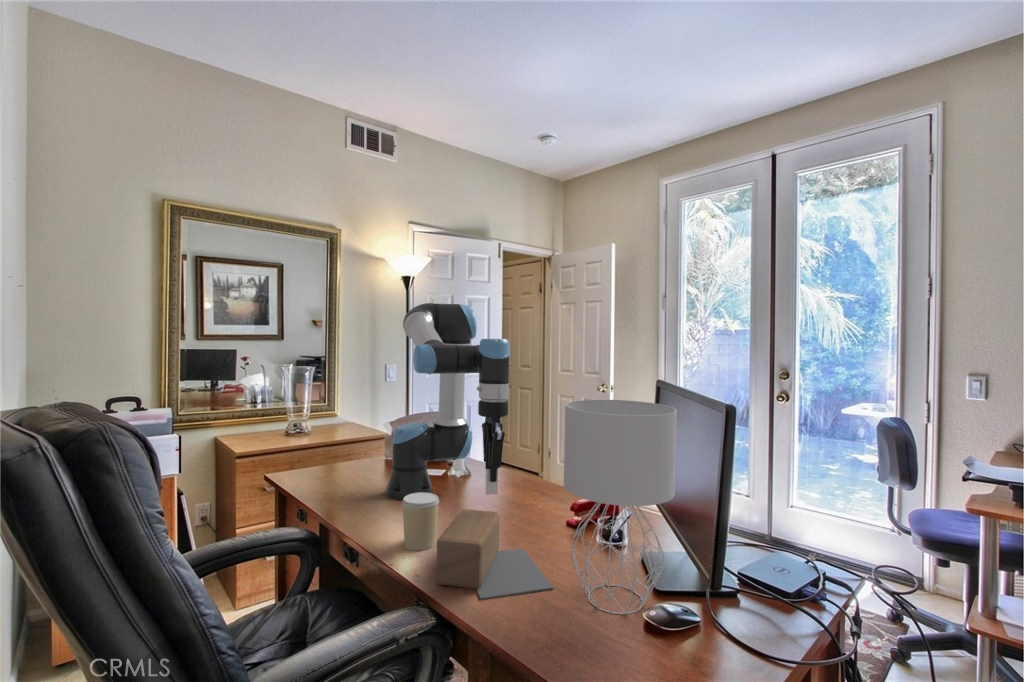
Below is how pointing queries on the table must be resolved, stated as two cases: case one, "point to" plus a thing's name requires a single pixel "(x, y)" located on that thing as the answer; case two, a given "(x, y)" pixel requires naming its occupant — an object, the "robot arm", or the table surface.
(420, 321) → the robot arm
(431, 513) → the coffee cup
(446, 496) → the table surface
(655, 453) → the table lamp
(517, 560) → the mat
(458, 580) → the block
